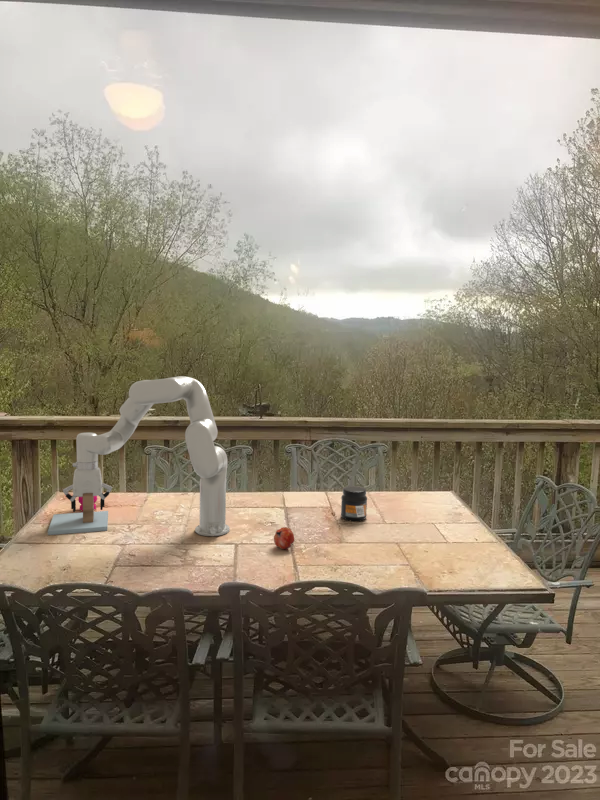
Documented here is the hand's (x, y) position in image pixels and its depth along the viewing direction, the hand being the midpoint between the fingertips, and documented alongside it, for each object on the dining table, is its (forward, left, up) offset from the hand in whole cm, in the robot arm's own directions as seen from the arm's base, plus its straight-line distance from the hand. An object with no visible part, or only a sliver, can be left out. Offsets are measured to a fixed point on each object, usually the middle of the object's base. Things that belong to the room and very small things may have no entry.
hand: (88, 509), depth 208 cm
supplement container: (-18, -102, -6) cm, 104 cm away
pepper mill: (+19, +1, -6) cm, 20 cm away
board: (0, +3, -5) cm, 6 cm away
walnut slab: (0, 0, -4) cm, 4 cm away
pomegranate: (-43, -65, -6) cm, 78 cm away
